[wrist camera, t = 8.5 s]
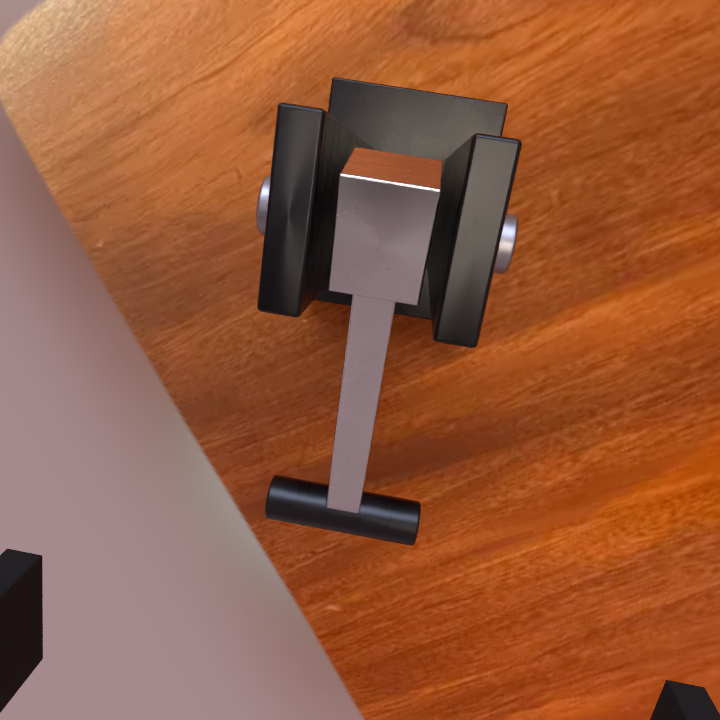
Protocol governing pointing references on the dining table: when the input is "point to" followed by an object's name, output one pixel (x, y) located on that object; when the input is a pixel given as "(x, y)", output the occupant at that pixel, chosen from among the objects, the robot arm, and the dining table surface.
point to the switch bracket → (401, 136)
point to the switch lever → (368, 336)
